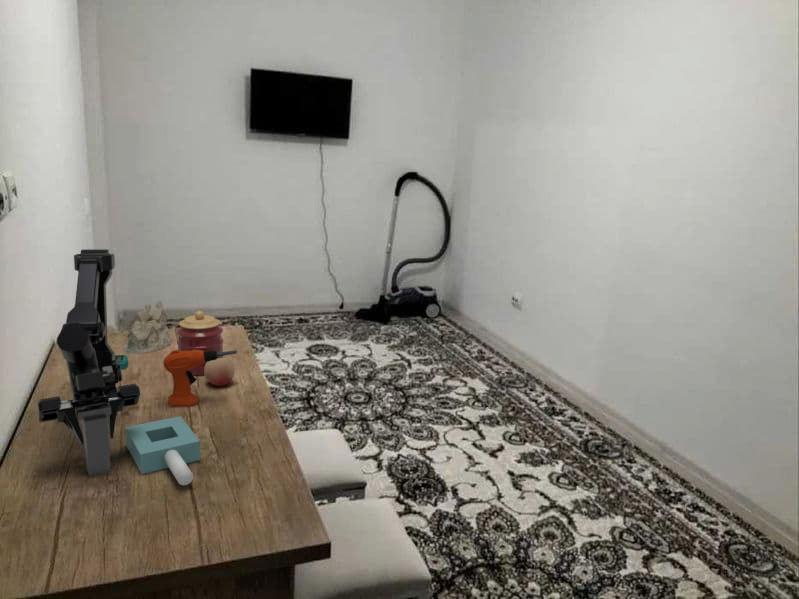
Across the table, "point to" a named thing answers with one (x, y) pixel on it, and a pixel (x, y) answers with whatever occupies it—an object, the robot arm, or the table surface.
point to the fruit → (219, 371)
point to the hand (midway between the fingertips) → (97, 440)
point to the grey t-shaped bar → (96, 438)
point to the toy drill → (187, 373)
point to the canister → (200, 336)
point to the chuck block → (164, 447)
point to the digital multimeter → (122, 361)
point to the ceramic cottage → (148, 330)
